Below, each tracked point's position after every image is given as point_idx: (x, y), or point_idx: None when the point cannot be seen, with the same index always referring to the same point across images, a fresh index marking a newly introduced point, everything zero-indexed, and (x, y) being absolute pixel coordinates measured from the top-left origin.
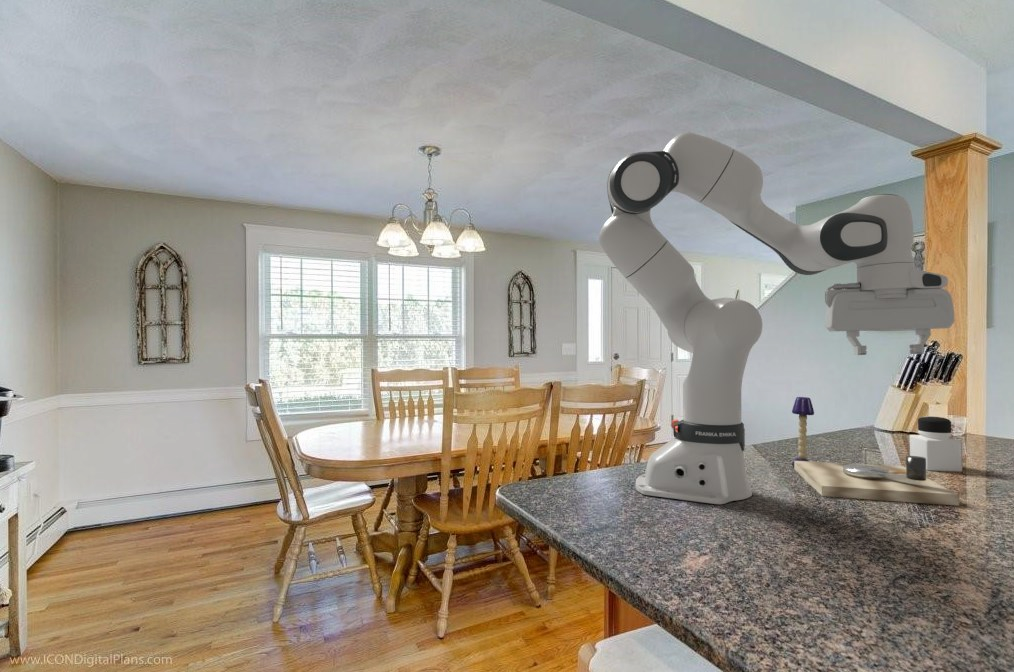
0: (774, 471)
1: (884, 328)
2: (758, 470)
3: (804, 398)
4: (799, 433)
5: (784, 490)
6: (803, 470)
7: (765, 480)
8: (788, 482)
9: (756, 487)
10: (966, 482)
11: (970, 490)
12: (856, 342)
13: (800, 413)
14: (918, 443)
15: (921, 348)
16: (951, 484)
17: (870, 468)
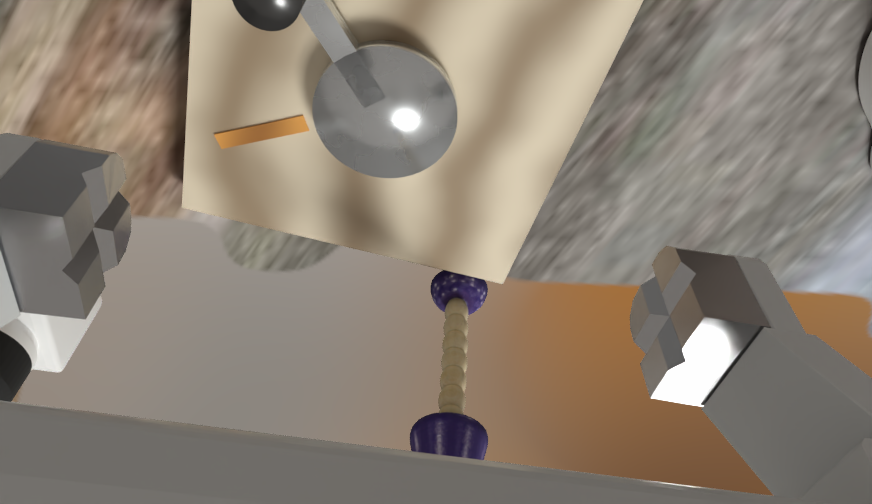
0: (583, 246)
1: (555, 475)
2: (626, 258)
3: None
4: (464, 371)
5: (727, 35)
6: (548, 187)
7: (694, 153)
8: (634, 129)
9: (797, 75)
10: (30, 109)
11: (65, 16)
12: (844, 370)
13: (476, 422)
14: (61, 322)
15: (3, 163)
16: (92, 88)
17: (364, 120)
